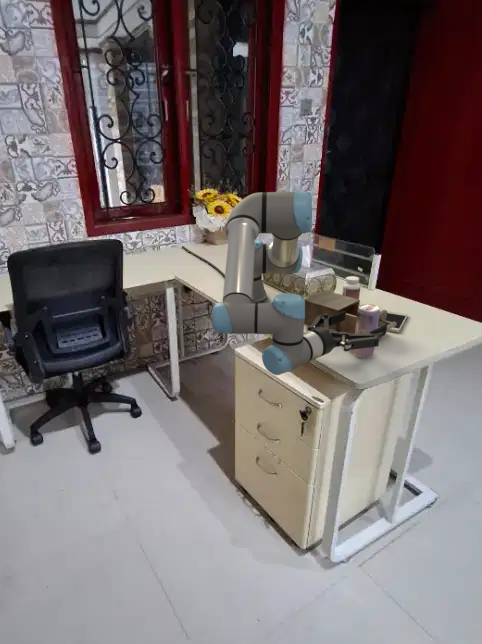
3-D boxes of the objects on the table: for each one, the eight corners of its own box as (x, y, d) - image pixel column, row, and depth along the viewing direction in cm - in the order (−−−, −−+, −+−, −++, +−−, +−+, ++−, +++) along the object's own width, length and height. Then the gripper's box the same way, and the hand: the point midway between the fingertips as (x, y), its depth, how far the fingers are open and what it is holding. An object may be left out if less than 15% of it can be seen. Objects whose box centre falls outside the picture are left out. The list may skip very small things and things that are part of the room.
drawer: (398, 334, 133) (401, 314, 130) (379, 346, 127) (382, 325, 124) (350, 319, 145) (352, 301, 142) (330, 329, 139) (332, 310, 136)
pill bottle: (361, 306, 158) (365, 278, 153) (350, 310, 155) (353, 281, 150) (349, 301, 163) (352, 274, 158) (337, 305, 160) (340, 277, 155)
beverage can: (377, 353, 124) (384, 307, 118) (366, 360, 121) (373, 313, 114) (359, 347, 129) (365, 302, 122) (348, 353, 125) (353, 307, 119)
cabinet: (357, 323, 144) (360, 299, 140) (335, 334, 137) (338, 310, 133) (323, 312, 154) (325, 290, 150) (301, 323, 147) (303, 299, 143)
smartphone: (407, 316, 147) (408, 313, 147) (398, 332, 136) (398, 330, 135) (386, 312, 151) (386, 310, 150) (375, 328, 140) (376, 326, 139)
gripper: (279, 340, 120) (328, 321, 130) (351, 375, 101) (402, 349, 112) (280, 316, 116) (330, 298, 127) (355, 348, 98) (406, 323, 108)
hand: (364, 322), depth 119 cm, fingers open, 13 cm apart
